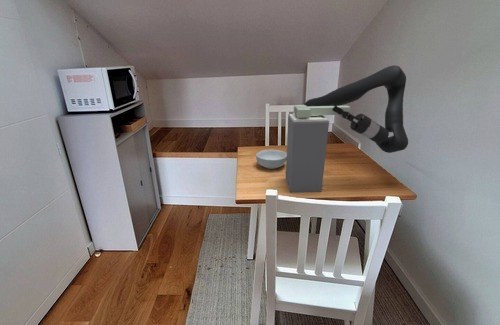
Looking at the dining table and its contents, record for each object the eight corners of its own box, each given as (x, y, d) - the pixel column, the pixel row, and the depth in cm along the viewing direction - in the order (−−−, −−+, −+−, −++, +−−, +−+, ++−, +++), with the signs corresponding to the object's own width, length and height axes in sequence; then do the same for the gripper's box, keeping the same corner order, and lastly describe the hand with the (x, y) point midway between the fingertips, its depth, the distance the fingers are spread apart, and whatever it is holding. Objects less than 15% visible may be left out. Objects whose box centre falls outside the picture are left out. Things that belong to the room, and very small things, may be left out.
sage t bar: (343, 111, 105) (344, 104, 104) (352, 116, 96) (354, 108, 95) (293, 112, 105) (293, 105, 104) (297, 117, 96) (298, 110, 95)
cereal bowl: (291, 163, 137) (291, 151, 135) (279, 174, 124) (279, 162, 121) (264, 158, 145) (264, 147, 143) (250, 168, 132) (250, 156, 130)
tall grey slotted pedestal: (313, 177, 120) (319, 112, 108) (321, 191, 107) (329, 119, 95) (285, 178, 120) (288, 113, 108) (290, 192, 107) (293, 120, 95)
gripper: (363, 115, 108) (332, 96, 105) (378, 122, 95) (344, 101, 92) (352, 129, 111) (322, 111, 107) (366, 138, 98) (332, 118, 94)
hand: (332, 106), depth 100 cm, fingers closed on sage t bar, 3 cm apart
